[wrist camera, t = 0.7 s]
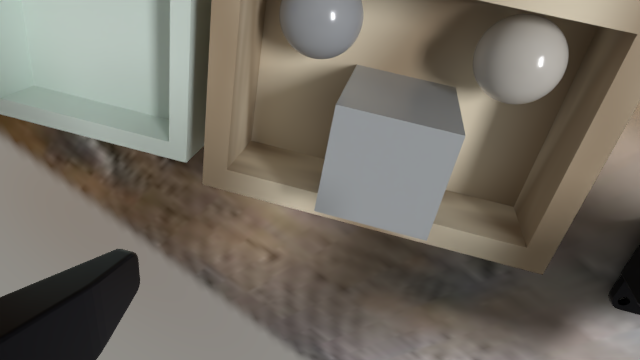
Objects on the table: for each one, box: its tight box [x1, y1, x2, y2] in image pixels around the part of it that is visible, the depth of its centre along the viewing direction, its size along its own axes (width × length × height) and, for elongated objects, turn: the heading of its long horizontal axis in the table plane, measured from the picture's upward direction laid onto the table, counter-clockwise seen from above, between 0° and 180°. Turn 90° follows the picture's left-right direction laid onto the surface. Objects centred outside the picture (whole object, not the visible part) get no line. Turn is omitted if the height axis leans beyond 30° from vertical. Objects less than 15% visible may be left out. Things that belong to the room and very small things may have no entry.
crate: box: [202, 0, 640, 275], centre depth 17 cm, size 14×10×4 cm
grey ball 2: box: [473, 13, 569, 104], centre depth 16 cm, size 3×3×3 cm
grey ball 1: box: [279, 0, 364, 59], centre depth 16 cm, size 3×3×3 cm
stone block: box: [314, 65, 465, 241], centre depth 17 cm, size 4×4×5 cm
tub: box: [0, 0, 212, 163], centre depth 19 cm, size 10×10×2 cm
